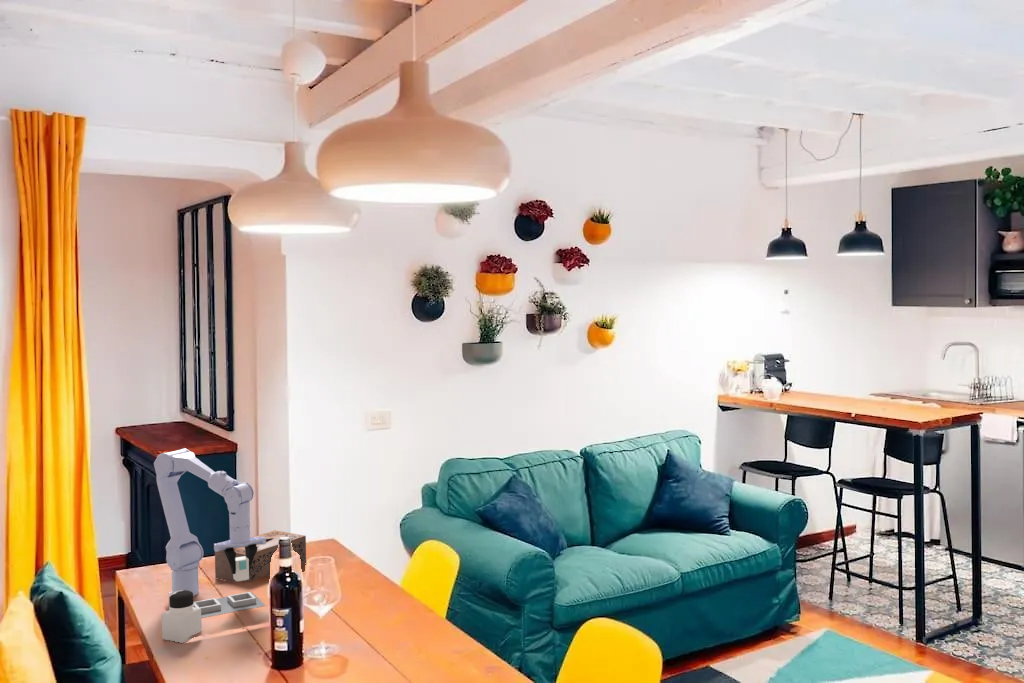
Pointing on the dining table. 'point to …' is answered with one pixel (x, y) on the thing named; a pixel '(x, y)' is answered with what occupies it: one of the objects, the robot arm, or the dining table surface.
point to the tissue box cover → (260, 556)
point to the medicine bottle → (181, 618)
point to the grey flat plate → (228, 604)
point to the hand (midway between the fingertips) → (240, 571)
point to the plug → (241, 568)
